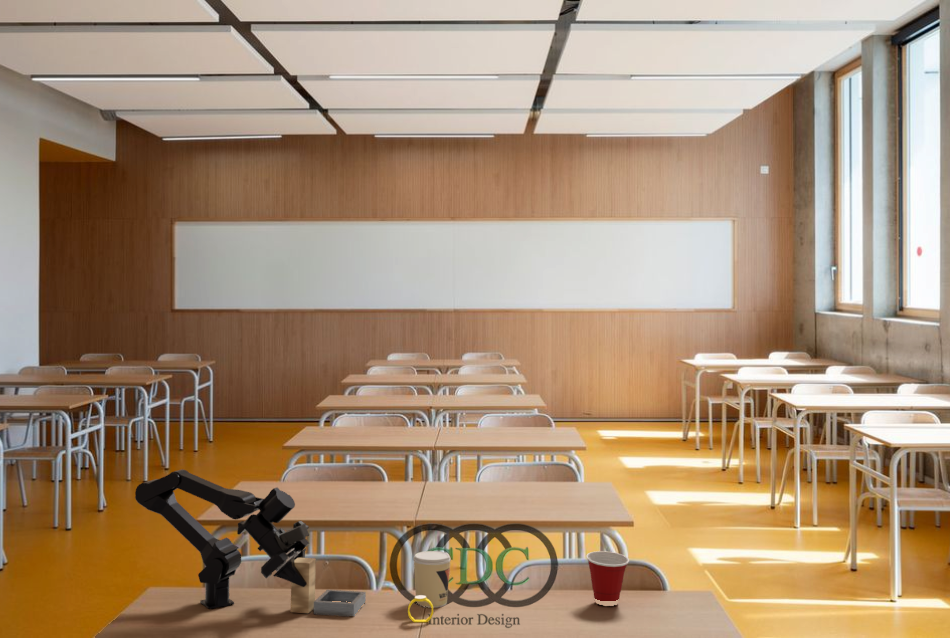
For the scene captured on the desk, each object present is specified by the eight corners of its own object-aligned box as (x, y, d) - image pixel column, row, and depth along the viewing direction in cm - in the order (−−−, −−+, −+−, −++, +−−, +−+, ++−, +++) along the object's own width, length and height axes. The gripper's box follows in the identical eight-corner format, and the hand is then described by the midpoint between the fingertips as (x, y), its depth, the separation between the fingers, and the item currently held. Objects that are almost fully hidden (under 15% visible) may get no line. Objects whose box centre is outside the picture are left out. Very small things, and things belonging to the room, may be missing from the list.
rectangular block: (290, 612, 211) (291, 562, 211) (297, 606, 215) (298, 557, 215) (308, 613, 210) (309, 563, 210) (314, 607, 215) (315, 558, 215)
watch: (408, 625, 204) (406, 599, 204) (408, 621, 207) (407, 595, 207) (433, 623, 205) (432, 597, 205) (433, 619, 207) (432, 594, 207)
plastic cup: (605, 613, 213) (605, 564, 214) (576, 601, 222) (577, 554, 223) (638, 606, 219) (638, 558, 219) (608, 594, 228) (609, 548, 229)
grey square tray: (313, 614, 210) (313, 601, 210) (327, 601, 220) (327, 589, 220) (353, 616, 209) (354, 604, 209) (365, 603, 218) (365, 591, 219)
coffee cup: (445, 610, 214) (445, 561, 214) (408, 607, 216) (409, 558, 216) (453, 598, 223) (454, 551, 224) (418, 596, 225) (419, 549, 226)
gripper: (274, 521, 204) (319, 571, 203) (302, 505, 223) (343, 551, 221) (242, 553, 205) (286, 603, 204) (272, 534, 224) (312, 580, 222)
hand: (308, 582), depth 213 cm, fingers closed on rectangular block, 4 cm apart
